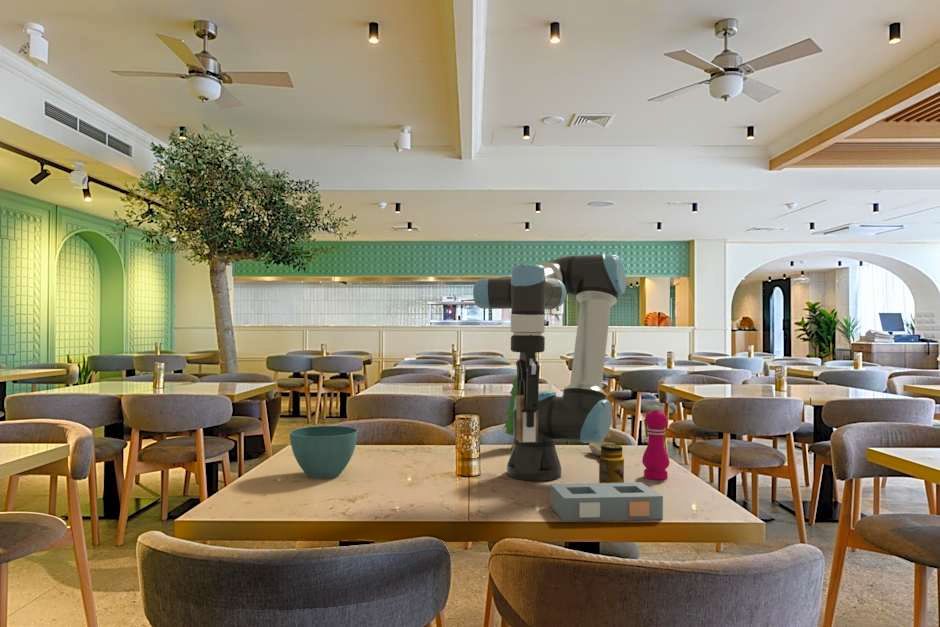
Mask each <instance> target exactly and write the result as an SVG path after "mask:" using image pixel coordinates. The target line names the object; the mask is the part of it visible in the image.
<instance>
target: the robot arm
mask: <svg viewBox="0 0 940 627" xmlns="http://www.w3.org/2000/svg"><path fill="white" fill-rule="evenodd" d="M626 282H627V279H626V272H625V267H624V265H623V261H622V259H621V257H619V256H618V255H616V254H605V253H602V254H590V255H589V254H587V255H566V256H562V257H557V258H556V259H555V258H554V259H550V260H548V261H545V262H542V263H539V264H517V265H514V266H513V267H512V269H511V274H508V275H504V276H499V277H494V278H490V277H487V278H480V279H477V280H476V282H475V283H474V286H473V288H472V289H473V290H472V296H473V297H472V298H473V301H474V304H475V305H476V307H477V308H479V309H484V310H486V309H489V310H497V309H503V310H504V309H511V312H510V332H511V333H512V335H511V336H510V351H511V352H513V353H519V357H518V358H519V359H517V361H516V363H515V366H516V376H517V395H524V409H521V412H523V442H535V439H536V410H538V443H519V442H518V441H517V440H516V419H517V396H516V397H515V400H514V409H513V411H514V435H513V443H514V446H513V450H512V449H511V453H510V456H509V459H508V463H507V467H506V474H507V476H509V477H511V478H513V479H517V480H524V481H535V482H536V481H537V482H538V481H539V482H541V481H542V482H543V481H552V480H556V479H559V478H560V477H562V465H561V461H560V459H559V456H558V452H557V450H556V449H557V448H556V440H558V441H559V440H560V441H567V442H568V441H570V442H580V443H582V444H590V443H599V442H601V441H602V440H603V439H604V440H605V437H606V435H607V433H608V431H609V432H610V427H611V424H612V420H613V419H612V418H613V413H612V412H613V406H612V403H611V402H610V400H609V399H607V394H606V392H605V391H604V390H603V388H602V386H603V380H604V371H605V370H604V369H605V362H606V351H607V342H608V336H609V327H610V326H609V325H610V316H611V308H612V307H613V306H614V305H616V304H617V303H618V296H622V295H624V294H625V292H626V289H627V288H626V287H627V283H626ZM567 296H575V298H576V301H578V303H579V312H578V319H577V328H576V335H575V344H574V351H573V358H572V366H571V372H570V373H571V374H570V382H569V384H568V385H567V386H565V387H564V388H563V392H562V396H557V392H556V391H555V390H539V383H540V382H539V381H540V380H539V378H540V377H539V376H540V370H541V366H540V365H539V361H538V360H537V357H536V354H537V353H543V352H545V347H546V346H545V342H546V340H545V338H546V337H545V336H544V335H543V334H544V333H545V324H547V323H548V320H547V319H545V317H546V316H545V315H546V312H545V310H555V309H558V308H560V307H561V306H562V305H564V303H565V301H566V299H567Z"/></svg>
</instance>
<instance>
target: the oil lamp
mask: <svg viewBox="0 0 940 627" xmlns="http://www.w3.org/2000/svg"><path fill="white" fill-rule="evenodd" d="M605 438H612V436H611V432H610V430H609V431H608V433H607V435H606V437H605ZM605 438H604V439H603V440H602V441H601V442H599V443H588V447H589V450H590V451H591V453H592V454H593V455H594V456H596V457H600V456H601V446H602V445H604V444H615V445H617V444H616V443H614V442H608V441H607V442H605Z"/></svg>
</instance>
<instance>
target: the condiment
mask: <svg viewBox="0 0 940 627" xmlns="http://www.w3.org/2000/svg"><path fill="white" fill-rule="evenodd" d="M615 444H616V443H614V444H604V445H602V446H601V456H598V460H599V461H598V471H599V472H598V473H599V474H598V476H599V477H598V483H625V479H624V478H625V477H624V476H625V474H624V473H625V472H624V471H625V459H624V456H623V455H624V453H623V446H622V445H619V444H616V445H615Z"/></svg>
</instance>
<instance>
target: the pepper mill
mask: <svg viewBox="0 0 940 627" xmlns="http://www.w3.org/2000/svg"><path fill="white" fill-rule="evenodd" d="M644 423H645V425H646V426H647V427H646V434H648V443H647V446H646V448H645V451H643V452H644V453H643V455H642V461H641V463H642V465H643V466H644V468H645V469H644V471H643V477H644V478H646V479H647V480H655V481H663V480H667V479H668V470H667V468H669V466H670V457H669V454H668V452H667V450H666V448H665V444H664V437H665V436H664V435H666V428H665V427H666V426H667V424H668V417H667V415H666V414H665V412H663V411H661V410H660V406H659V405H657V404H655V405H653V407H652V410H651V411H649V412H647V413H646V414H645V417H644Z"/></svg>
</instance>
